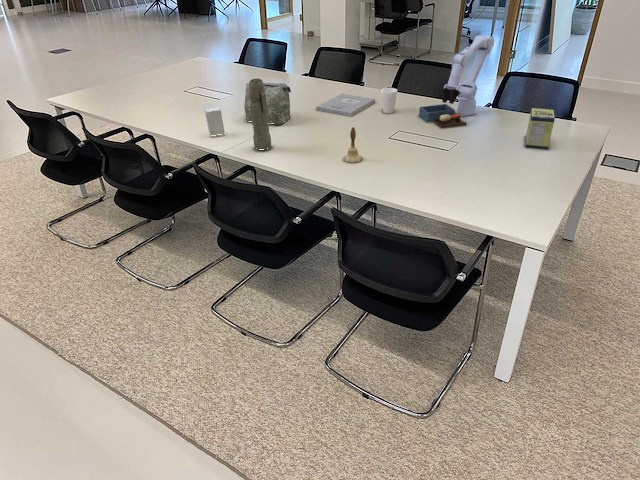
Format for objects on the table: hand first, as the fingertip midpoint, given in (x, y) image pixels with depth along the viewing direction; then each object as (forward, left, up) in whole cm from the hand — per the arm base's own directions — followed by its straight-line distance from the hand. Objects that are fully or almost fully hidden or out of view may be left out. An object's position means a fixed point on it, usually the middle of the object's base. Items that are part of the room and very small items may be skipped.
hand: (447, 103), depth 269 cm
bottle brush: (-1, +2, -7) cm, 8 cm away
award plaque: (+44, -48, -12) cm, 66 cm away
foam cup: (+23, -29, -12) cm, 39 cm away
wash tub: (+1, -10, -11) cm, 15 cm away
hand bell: (+64, +31, -12) cm, 72 cm away
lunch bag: (+94, -39, -12) cm, 103 cm away
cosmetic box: (+126, -24, -12) cm, 129 cm away
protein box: (-30, +41, -12) cm, 52 cm away
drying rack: (-2, +2, -12) cm, 12 cm away
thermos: (+104, +3, -12) cm, 105 cm away
